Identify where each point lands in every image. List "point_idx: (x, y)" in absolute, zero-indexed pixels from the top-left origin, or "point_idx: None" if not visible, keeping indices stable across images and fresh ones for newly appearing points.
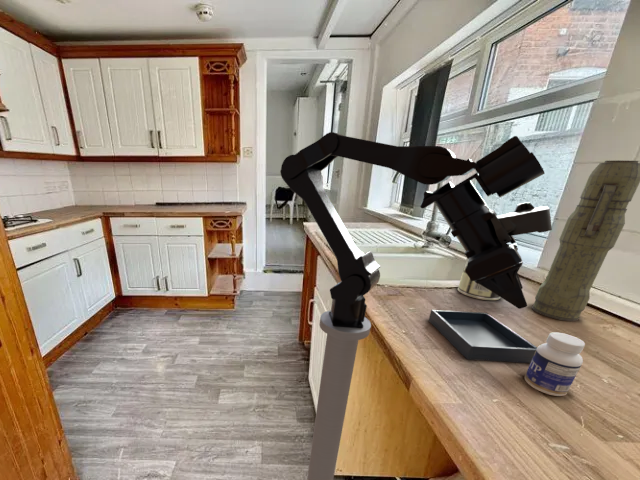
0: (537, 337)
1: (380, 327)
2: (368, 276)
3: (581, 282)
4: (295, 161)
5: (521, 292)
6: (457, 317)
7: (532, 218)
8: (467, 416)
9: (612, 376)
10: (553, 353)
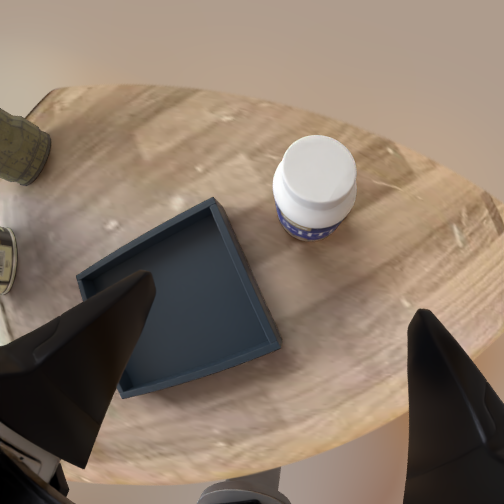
0: (110, 187)
1: (231, 476)
2: None
3: (4, 122)
4: None
5: (470, 362)
6: None
7: None
8: None
9: (205, 107)
10: (345, 203)
